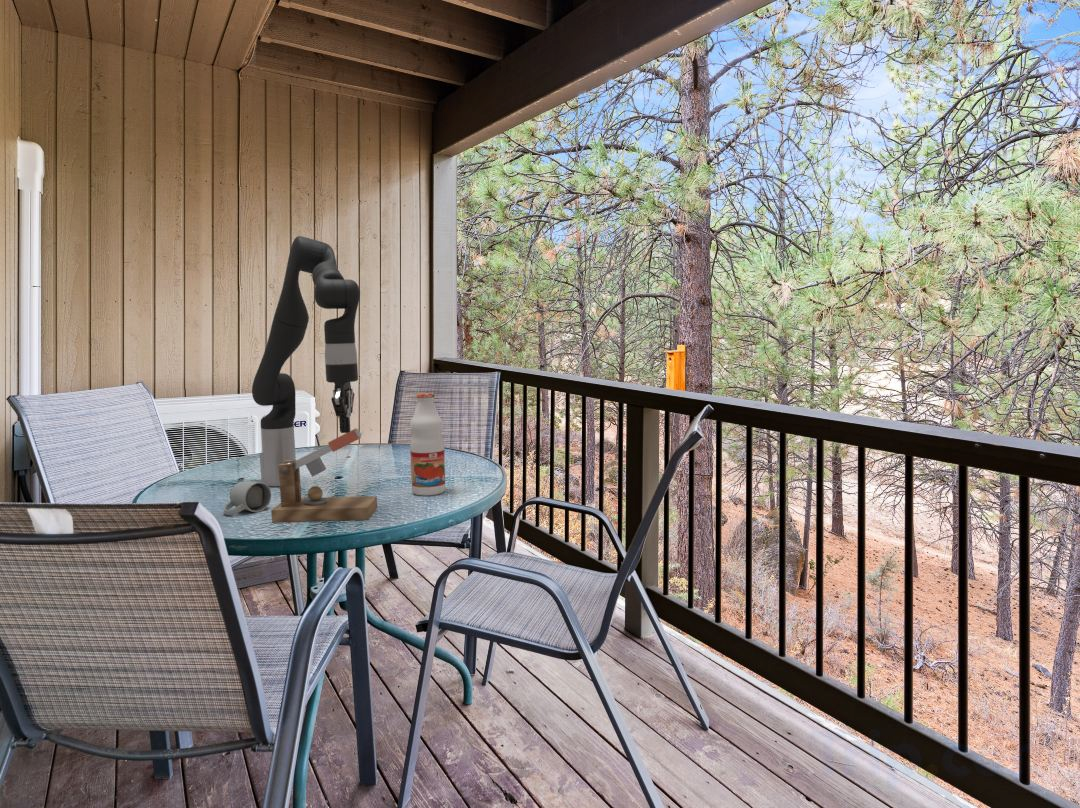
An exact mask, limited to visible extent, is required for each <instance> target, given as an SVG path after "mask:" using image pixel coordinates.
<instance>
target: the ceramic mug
mask: <svg viewBox="0 0 1080 808" xmlns="http://www.w3.org/2000/svg"><path fill="white" fill-rule="evenodd" d="M229 500H230V501H229V502H228V503H226V504H225V505H224V506H223V509H222V510H223V513H224V514H225V515H226V516H227V517H230V516H234V515H237V514H239V513H240V512H242V511H247V512H251V513H260V512H262V511H264V510H266V509H267V508H268V506H269V505H270V503H271V500H272V491H271V488H270V486H268V485H267V484H265V483H263V482H261V481H251V480H249V481H248V480H246V481H239V482H237V483H236V484H235V485H233V486H232V488H231V489H230V493H229Z"/></svg>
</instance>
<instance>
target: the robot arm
mask: <svg viewBox="0 0 1080 808" xmlns="http://www.w3.org/2000/svg"><path fill="white" fill-rule="evenodd" d="M290 246H291V247H290V250H289V253H288V254H289V255H288V258H287V263H286V264H287V265H286V267H285V268H286V270H285V274H284V279H283V285H282V289H281V292H280V294H279V295H280V296H279V298H278V303H277V306H276V309H275V312H274V316H273V319H272V321H271V322H272V323H271V327H270V332H269V335H268V339H267V342H266V346H265V349H264V352H263V355H262V358H261V360H260V362H259V365H258V368H257V370H256V373H255V376H254V378H253V382H252V386H251V393H252V394H251V395H252V398H253V401H254V402H255V403H256V404H257V405H258V406H262V407H263V406H264V407H268V406H272V408H271V410H270V411H269V413H267V415H264V416H263V417H262V418H260V434H261V448H262V451H261V452H260V453H259V464H260V465H259V466H260V482H263V483H265V484H267V485H268V487H280V480H279V464H285V462H284V461H286V460H297V459H296V457H297V456H296V442H295V441H296V439H295V427H294V426H295V425H294V423H295V419H296V413H297V412H296V386H295V382H294V380H293V378H292V377H291V376H290V375H289V374H288V373H283V372H281V370H282V368H283V367H284V364H285V363H286V362H287V360H289V358H290V357H291V356H292V355H293V354H294V352H296V350H297V349H298V348H299V347H300V345H301V344H302V343H303V340H304V338H305V335H306V331H307V330H308V329H307V328H308V324H309V319H310V318H309V317H310V316H309V313H308V307H307V306H306V304H305V301H304V299H303V296H302V293H301V288H300V284H299V276H300V272H304V273H308V274H311V278H312V282H313V284H314V286H315V287H314V293H313V294H314V300H315V303H316V304H317V306H319V307H320V308H322V309H325V310H337V309H339V310H341V309H344V311H343V314H342V315H341V316H339V317H335V318H330V319H327V320H326V321H325V322H324V324H323V325H324V326H323V327H324V328H323V330H324V347H325V348H324V363H325V364H324V365H325V378H326V379H325V380H326V382H327V383H334V386H333V387H334V388H333V390H332V396H331V399H330V400H331V403H332V407H333V409H334V415H335V416H336V417H338V419H339V432H340V433H341V434H346V433H348V432H350V431H351V415H352V414H353V408H354V401H355V392H354V389H353V388H352V385H351V383H352V382H358V380H359V371H358V370H359V369H358V354H357V347H356V333H355V323H356V316H357V310H358V307H359V302H360V297H361V290H360V286H359V285H358V284H357V282H356V281H355V280H354V279H353V280H352V279H345V278H344V276H343V275H342V273H341V272H340V270H339V269H338V265H337V259H336V256H335V252H334V249H333V248H332V246H331V245H329V244H328V243H326V242H324V241H321V240H316V239H314V238H313V239H312V238H311V237H310V238H309V237H306V236H302V235H298V236H296V237H295V238H293V241H292V244H291V245H290Z"/></svg>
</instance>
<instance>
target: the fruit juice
mask: <svg viewBox="0 0 1080 808" xmlns="http://www.w3.org/2000/svg"><path fill="white" fill-rule="evenodd" d="M415 398H416V400H417V403H416V407H415V410H414V413H413V416H412V418H411V420H410V422H409V431H410V433H411V439H410V443H409V444H410V445H409V453H410V476H411V481H410V482H411V492H412V493H413V495H417V496H427V497H428V496H435V495H441V494H443V493H444V492H445V490H446V464H445V462H446V461H445V443H444V442H445V441H444V438H443V435H442V433H443V429H444V424H443V419H442V418H441V417H440V414H439V413H438V410H437V408H436V405H435V402H434V399H435V394H434V393H433V392H419V393H416V397H415Z"/></svg>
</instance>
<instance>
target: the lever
mask: <svg viewBox="0 0 1080 808" xmlns="http://www.w3.org/2000/svg"><path fill="white" fill-rule="evenodd" d="M361 438H362V433H361V431H360V429H359V428H357V427H355V428H354V429H350V432H348V433H343V434H342V435H339V436H338V437H336V438H334V439H332V440H330V441H328V442H327V444H326V445H324V446H322V447H319V448H318V449H316V450H314V451H312V452H309V453H308V454H306V455H304V456H302V457H301V458H298V459H296V461H294V462H288V463H286V464H294V472H295V471H296V469H297V468H299V469H300V468H302V467H303V466H305V467H306V469H307V470H308V472H309V474H310V475H311V477H312V478H313V477H314V476H317V475H319V474H321V473H323V472H325V471H326V470H327V468H326V466H325V464H324V462H323V460H322V459H321V457H323V456H325V455H326V454H328V453H331V452H332V453H334V452H336V451H338V450H340V449H343V448H345V447H347V446H348V445H350V444H352V443H354V442H356V441H358V440H359V439H361Z"/></svg>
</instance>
